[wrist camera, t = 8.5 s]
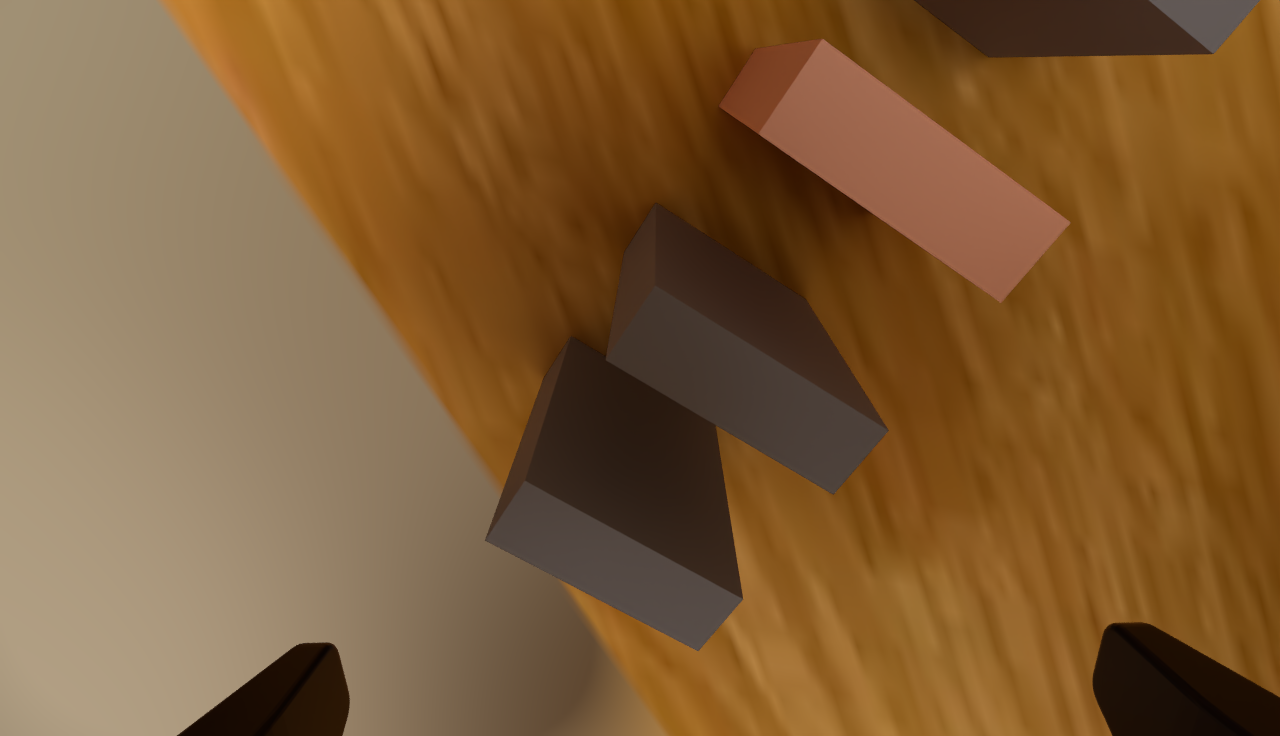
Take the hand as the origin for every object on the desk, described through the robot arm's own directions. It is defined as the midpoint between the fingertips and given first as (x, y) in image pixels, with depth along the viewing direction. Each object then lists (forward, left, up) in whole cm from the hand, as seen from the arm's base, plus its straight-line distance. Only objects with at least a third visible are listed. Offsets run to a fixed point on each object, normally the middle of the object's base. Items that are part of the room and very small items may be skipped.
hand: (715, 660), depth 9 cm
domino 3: (0, -6, -13) cm, 14 cm away
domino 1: (0, +3, -13) cm, 14 cm away
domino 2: (0, -1, -13) cm, 13 cm away
